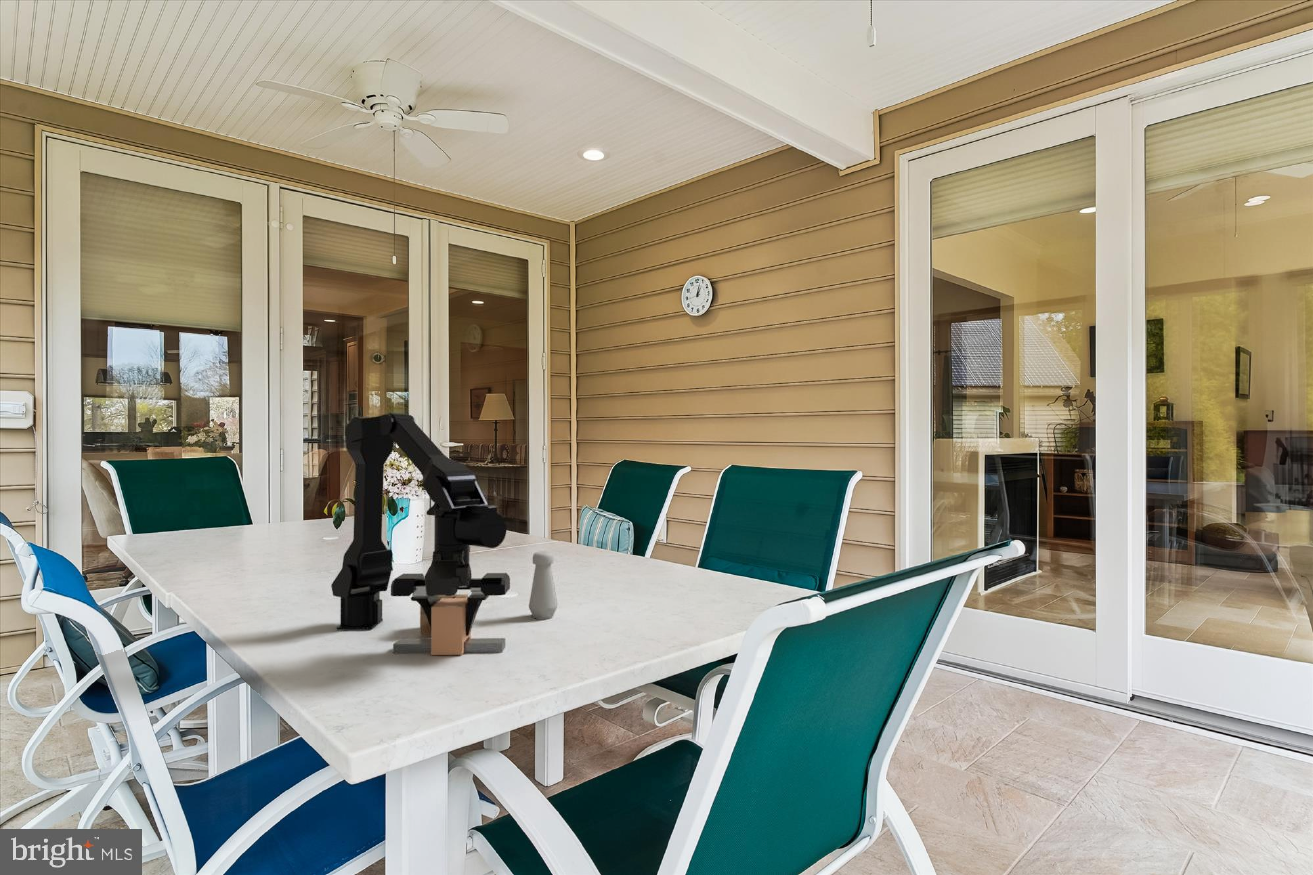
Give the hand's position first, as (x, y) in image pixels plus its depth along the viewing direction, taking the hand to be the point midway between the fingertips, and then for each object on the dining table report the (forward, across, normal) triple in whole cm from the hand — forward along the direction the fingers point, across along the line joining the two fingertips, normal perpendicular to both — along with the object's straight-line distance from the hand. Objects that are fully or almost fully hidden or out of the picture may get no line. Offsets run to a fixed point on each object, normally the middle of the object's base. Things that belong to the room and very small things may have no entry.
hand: (451, 635), depth 117 cm
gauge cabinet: (+2, -4, +12) cm, 13 cm away
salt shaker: (+3, +13, +22) cm, 26 cm away
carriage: (+2, 0, 0) cm, 2 cm away
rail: (+2, 0, 0) cm, 3 cm away
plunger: (-4, -4, +12) cm, 13 cm away
